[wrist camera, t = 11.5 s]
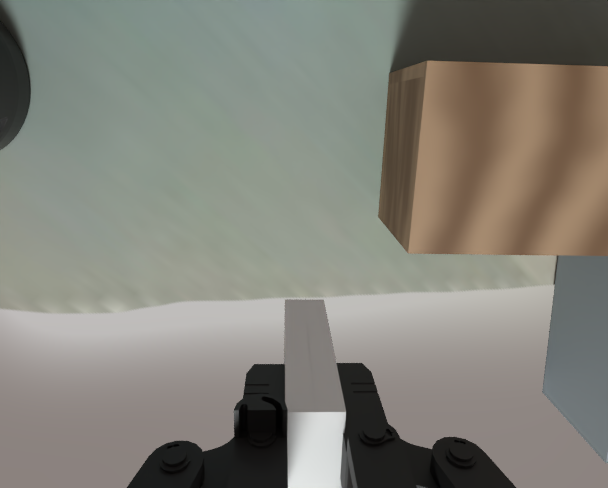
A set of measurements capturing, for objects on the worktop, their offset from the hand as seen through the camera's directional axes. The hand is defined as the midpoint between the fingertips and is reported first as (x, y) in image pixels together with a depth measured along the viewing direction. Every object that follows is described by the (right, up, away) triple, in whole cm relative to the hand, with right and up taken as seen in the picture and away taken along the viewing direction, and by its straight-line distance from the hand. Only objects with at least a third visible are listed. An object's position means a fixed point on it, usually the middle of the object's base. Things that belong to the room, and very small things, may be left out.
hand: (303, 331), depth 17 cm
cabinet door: (+29, -5, +32) cm, 44 cm away
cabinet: (+18, +13, +27) cm, 35 cm away
